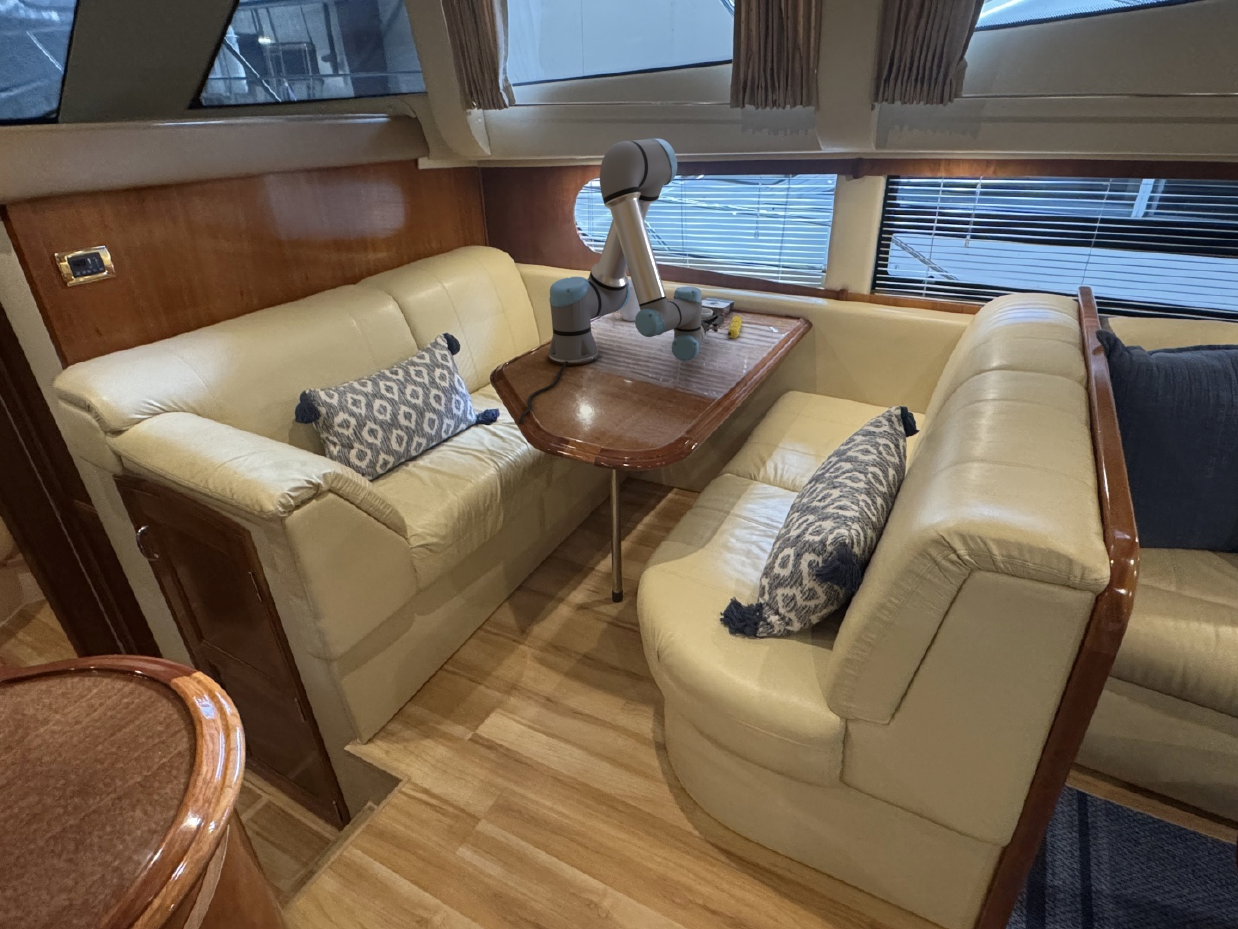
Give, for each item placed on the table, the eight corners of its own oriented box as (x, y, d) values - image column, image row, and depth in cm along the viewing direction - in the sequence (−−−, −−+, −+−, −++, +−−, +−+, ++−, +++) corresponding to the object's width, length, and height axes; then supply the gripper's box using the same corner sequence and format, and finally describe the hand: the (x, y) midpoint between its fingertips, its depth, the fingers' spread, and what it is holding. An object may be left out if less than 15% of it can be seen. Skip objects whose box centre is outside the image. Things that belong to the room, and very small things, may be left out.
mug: (602, 319, 239) (600, 283, 232) (616, 311, 247) (615, 276, 241) (639, 324, 233) (638, 286, 226) (652, 315, 241) (652, 279, 235)
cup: (696, 328, 221) (698, 304, 217) (718, 331, 217) (720, 307, 213) (682, 336, 212) (683, 311, 209) (704, 340, 209) (706, 315, 205)
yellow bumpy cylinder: (738, 339, 214) (738, 329, 212) (726, 339, 215) (727, 328, 213) (742, 324, 228) (742, 314, 227) (731, 324, 229) (732, 313, 227)
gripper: (658, 343, 201) (671, 321, 220) (727, 346, 196) (734, 324, 215) (657, 319, 197) (671, 299, 216) (728, 322, 192) (735, 301, 212)
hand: (702, 311), depth 216 cm, fingers closed on cup, 8 cm apart
